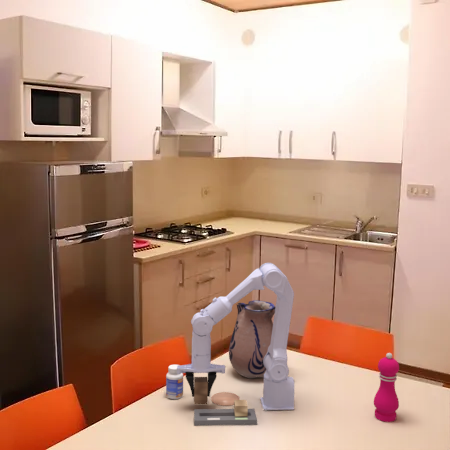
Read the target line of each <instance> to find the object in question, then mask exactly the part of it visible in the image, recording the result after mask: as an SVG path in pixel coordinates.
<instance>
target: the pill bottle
mask: <svg viewBox="0 0 450 450" xmlns="http://www.w3.org/2000/svg"><path fill="white" fill-rule="evenodd" d="M177 366H180V364H170V365H169V366H168V372H167V373H166V375H165V377H166V378H165V379H166V380H165V381H166V382H165V387H166V392H165V393H166V398H168V399H170V400H179V399H181V398H183V396H184V373H181V374H177Z"/></svg>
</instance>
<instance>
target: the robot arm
mask: <svg viewBox="0 0 450 450" xmlns="http://www.w3.org/2000/svg"><path fill="white" fill-rule="evenodd" d="M265 288H266V289H268V290H270V291H272V292H273V293H274V294H275V296H276V301H275V314H274V315H273V321H272V322H273V329H272V336H271V343H270V346H269V347H268V351H267V354H266V355H265V357H264V359H263V364H264V366H265V368H266V372H265V373H264V377H263V389H262V390H263V391H262V394H263V395H262V396H261V397H260V398H259V399H260V403H261V407H262V409H263V411H286V410H287V411H292V410H295V379H294V377H293V376H289V373H290V370H289V366H288V353H287V347H288V339H289V333H290V326H291V321H292V320H291V319H292V313H293V306H294V298H295V291H294V290H293V287H292V286H291V284H290V281H289V278H288V277H287V276H286V275H285V273H283V272H282V270H281V269H280V268H279V267H278V266H277V265H276V264H274V263H273V262H265V263H262V264H261V265H260V266H259V267H257V268H256V269H254V270H253V271H251V273H250V274H249V275H248V276H247V277H246V278H245V279H244V280H242V281H241V282H240V283H239V284H238V285H237V286H235V288H233V289H232V290H231V291H230V292H229V293H228V294H227V295H226V296H218V297H216V296H215V297H214V298H213V299H212V302H211V303H210V304H209V305H207V306H206V307H205V308H202V309H200V311H199V312H196V313H195V314H194V315H193V316H192V318H191V320H190V323H191V326H192V333H191V334H192V337H191V363H188V364H182V365H180V364H179V365H180V366H177V374H181V373H183V374H185V379H186V381H187V383H188V385H189V387H190V391H191V397H192V398H194V377H195V374H207V379H208V398H209V397H210V398H211V392H212V387H213V385H214V383H215V381H216V380H217V377H218V376H217V374H224V375H225V374H226V365H224V364H216V363H212V362H211V358H212V355H211V352H212V351H211V350H212V349H211V348H212V337H211V332H212V331H213V326H216V325H217V324H218V323H219V322H220V321H222V320H223V319H224V318H225V317H227V316H228V315H229V314H230V313H231V312H232V311H233V306H234V305H236V304H237V303H239V301H240V300H242V299H243V298H245V297H246V296H247V295H248V294H250V293H251V292H252V291H254V290H255V291H256V290H257V291H259V290H260V291H264V290H265Z"/></svg>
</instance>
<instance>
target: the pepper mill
mask: <svg viewBox="0 0 450 450" xmlns="http://www.w3.org/2000/svg"><path fill="white" fill-rule="evenodd" d="M377 368H378V371H379V373H378V374H379V376H378V377H379V379H380V380H379V381H380V383H379V387H378V389H377V392H376V393H375V396H374V399H373V405H374V407H375V409H374V417H375V419H376V420H379V421H381V422H386V423H390V422H391V423H392V422H396V420H397V411H398V409H399V407H400V405H399V404H400V401H399V398H398V395H397V391H396V381H397V374H398V372H399V371H400V364H399V362H398V360H397V359H395V358H393V354H392V353H391V352H387V353H386V355H385V357H382V358H380V359H379V361H378V364H377Z"/></svg>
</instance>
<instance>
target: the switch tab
mask: <svg viewBox="0 0 450 450" xmlns="http://www.w3.org/2000/svg"><path fill="white" fill-rule="evenodd" d="M248 407H249V406H248V401H247V399H240V400H234V405H233V409H234V413H235V417H239V416H247V415H248V409H249V408H248Z"/></svg>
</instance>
